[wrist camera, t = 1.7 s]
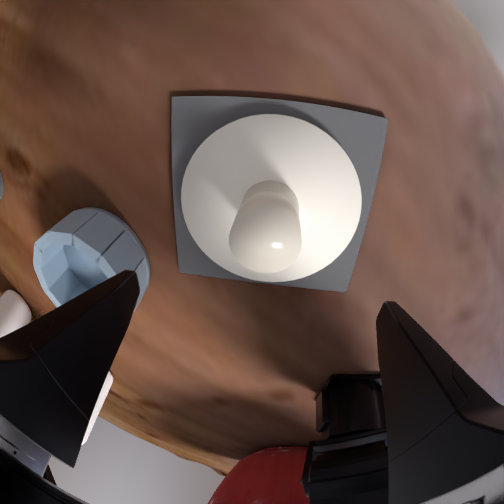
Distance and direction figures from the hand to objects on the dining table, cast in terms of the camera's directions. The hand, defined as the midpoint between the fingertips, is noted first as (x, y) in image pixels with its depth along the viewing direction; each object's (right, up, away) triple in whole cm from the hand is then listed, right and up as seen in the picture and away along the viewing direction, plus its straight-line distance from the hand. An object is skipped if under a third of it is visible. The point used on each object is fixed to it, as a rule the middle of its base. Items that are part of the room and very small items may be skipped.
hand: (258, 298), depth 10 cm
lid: (+1, +4, +7) cm, 8 cm away
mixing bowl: (+7, -36, +32) cm, 49 cm away
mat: (+1, +5, +7) cm, 9 cm away
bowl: (-12, +1, +11) cm, 17 cm away
